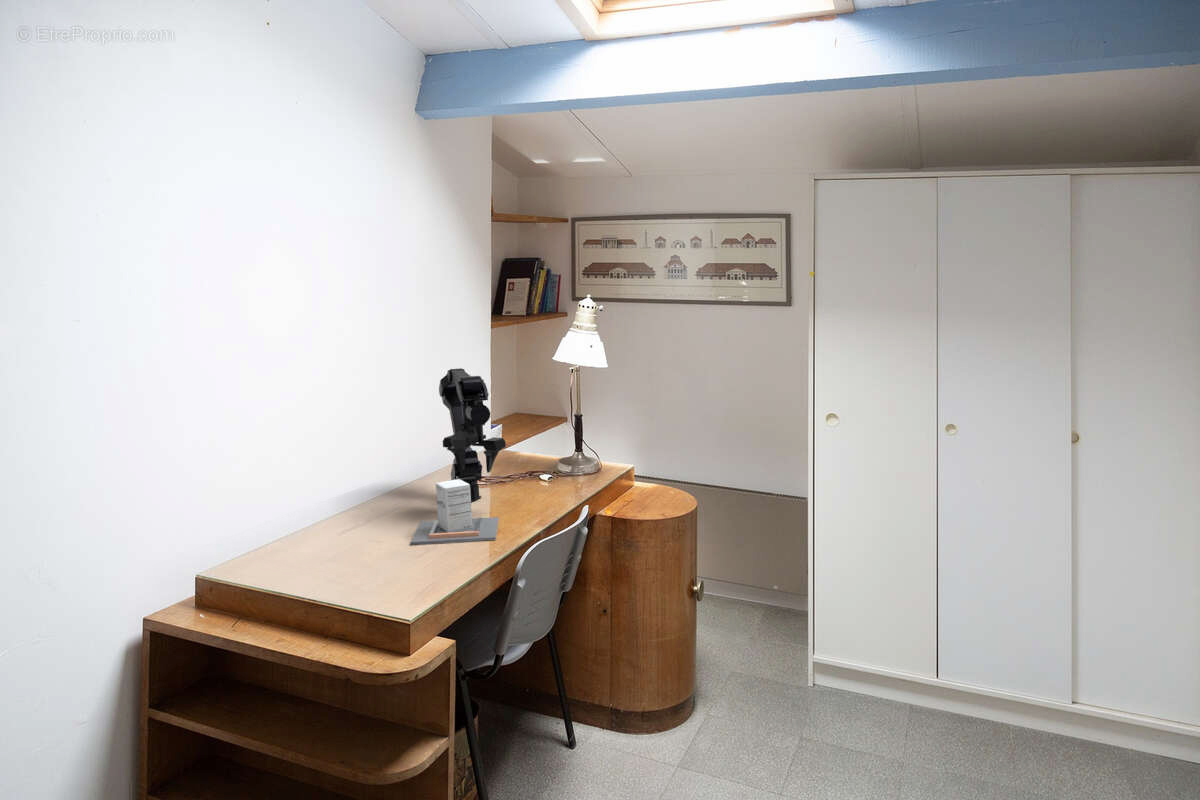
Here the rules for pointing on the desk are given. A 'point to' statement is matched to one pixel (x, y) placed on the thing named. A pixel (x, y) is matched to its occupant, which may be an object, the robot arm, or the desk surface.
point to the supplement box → (454, 505)
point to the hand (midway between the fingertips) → (475, 471)
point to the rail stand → (435, 534)
